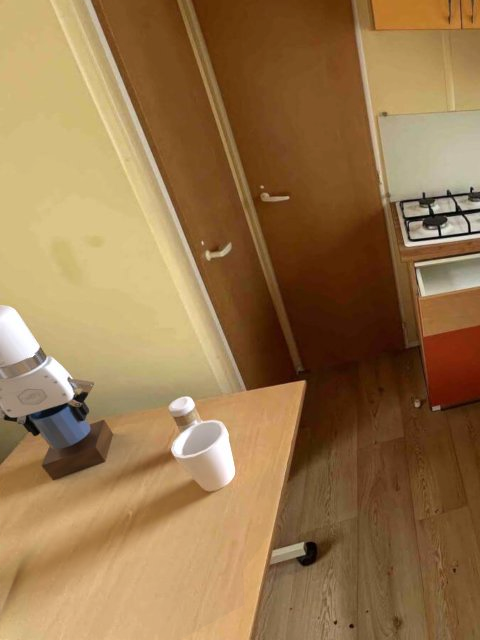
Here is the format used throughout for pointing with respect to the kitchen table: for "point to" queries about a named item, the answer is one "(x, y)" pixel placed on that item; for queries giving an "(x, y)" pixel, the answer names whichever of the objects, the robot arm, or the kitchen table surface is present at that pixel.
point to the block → (79, 452)
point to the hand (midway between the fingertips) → (61, 423)
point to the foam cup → (206, 454)
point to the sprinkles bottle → (184, 413)
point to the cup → (60, 426)
